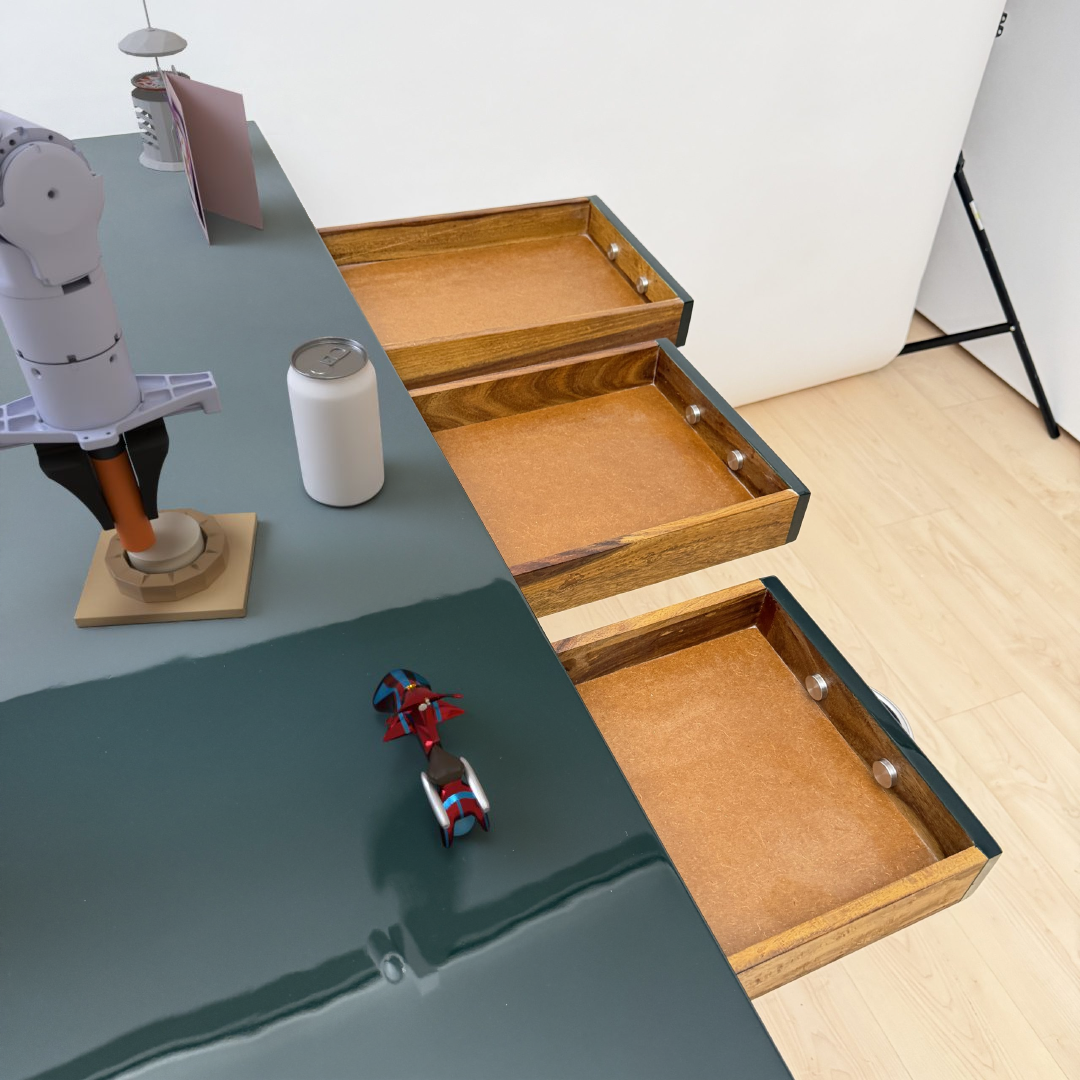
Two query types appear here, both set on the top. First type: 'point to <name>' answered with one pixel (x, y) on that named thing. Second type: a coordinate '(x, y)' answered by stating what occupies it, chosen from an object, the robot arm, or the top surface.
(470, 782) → the hoverbike
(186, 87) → the greeting card
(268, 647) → the top surface
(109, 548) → the button housing
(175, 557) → the circle pad
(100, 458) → the marker
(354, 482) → the can
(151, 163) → the french press
